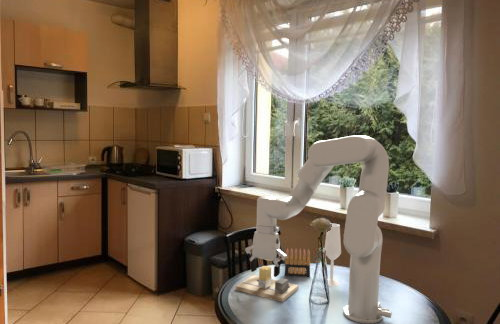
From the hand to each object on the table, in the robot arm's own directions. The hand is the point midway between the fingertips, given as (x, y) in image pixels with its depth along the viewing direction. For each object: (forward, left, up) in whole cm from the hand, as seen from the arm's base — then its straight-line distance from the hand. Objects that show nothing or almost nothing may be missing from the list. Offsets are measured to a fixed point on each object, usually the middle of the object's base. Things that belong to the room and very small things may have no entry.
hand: (264, 273), depth 150 cm
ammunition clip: (-4, -22, -7) cm, 24 cm away
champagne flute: (-19, -22, -7) cm, 30 cm away
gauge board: (0, -2, -7) cm, 7 cm away
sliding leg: (0, -2, -5) cm, 5 cm away
